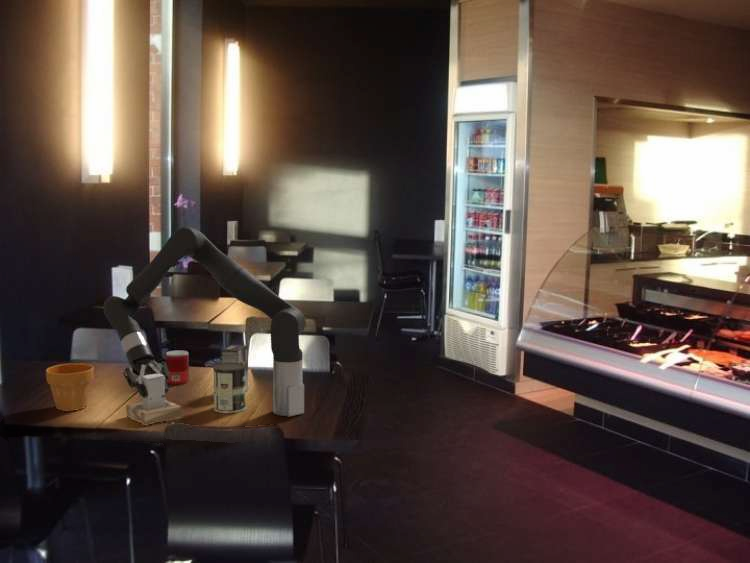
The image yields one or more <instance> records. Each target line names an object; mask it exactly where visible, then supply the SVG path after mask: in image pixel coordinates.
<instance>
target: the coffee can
mask: <svg viewBox="0 0 750 563" xmlns="http://www.w3.org/2000/svg"><path fill="white" fill-rule="evenodd" d="M245 368H246V366H245V365H244V364H240V363H222V362H221V363H219V364H215V365H213V366H212V370H213V411H214V412H216V413H220V414H236V413H242V412H244V411H245V410H246V406H247V405H246V403H247V402H246V399H247V398H246V392H245Z"/></svg>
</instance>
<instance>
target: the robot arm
mask: <svg viewBox="0 0 750 563" xmlns="http://www.w3.org/2000/svg"><path fill="white" fill-rule="evenodd" d="M185 257H189V258H190V259H192V260H194V261H196V262H197V263H199V264H200V265H201V266H203V268H205V269H206V270H207V271H208V272H209V273H210V274H211V276H212V277H213V278H214V279H215V281H216V283H217V284H219V286H221V288H223V290H225V291H226V292H227V294H228V293H229V295H231V296H232V297H234V298H235V299H236V300H238V301H239V302H241V303H243V304H245V305H247V306H250V307H252V308H253V309H257V310H259V311H260V312H261V313H264V314H265V315H266V316H267V317H269V319H270V320H271V322H270V348H271V352H272V355H273V357H272V360H273V364H272V365H273V366H272V371H273V372H272V377H273V378H272V382H273V384H272V386H273V387H272V388H273V389H272V395H273V397H272V401H273V402H272V404H273V407H272V409H273V414H275V415H277V416H281V417H282V416H283V417H284V416H285V417H287V418H288V417H294V416H297V415H302V414H304V413H305V383H303V364H304V363H303V359H304V358H303V354H304V353H303V350H302V349H301V348H300V334H302V333H303V332H304V331H305V328H306V326H307V320H306V316H304V313H303V312H302V311H301V310H299V309H298V308H297V307H296V306H293V305H292V304H291V303H289V302H288V301H286V300H284V298H281V297H280V296H279V295H277V294H276V293H275V292H273V291H272V290H271V289H270V288H269V287H268V286H267V285H265V284H264V283H263V282H261V281H260V280H259V279H258V278H257V277H256V276H254V275H253V274H252V273H251V272H250V271H249V270H248V269H246V268H245V267H243V266H242V265H241V264H240V263H238V262H237V261H235V260H234V259H232V258H231V257H230V256H228V255H227V254H225V253H224V252H222V251H221V250H220V249H218V248H217V247H216V246H215V245H214V244H213V243H212V242H211V241H210V240H209V239H208V237H207V236H205V235H204V233H202V232H201V231H200V230H198V229H197V228H192V227H190V226H189V227H188V226H182V227H179V228H177V229H176V230H175V231H174V232H173V233H172V234H171V235H170V237H169V238H168V239H167V241H166V242H165V244H164V245H163V246H162V247H161V249H160V250H159V252H158V253H157V254H156V255H155V257H154V258H153V259H152V260H150V262H149V263H148V264H147V266H145V267H144V268H143V270H141V272H139V273H138V274H137V275H136V276H135V277H134V278H133V279H132V280H131V281H130V282H129V283H128V284H127V286H126V288H125V291H126V294H127V295H128V296H127V297H126V298H122V297H120V296H116V295H112V296H108V297H107V298H106V299H105V301H104V303H103V314H104V315H105V318H106V320H108V322H109V323H110V325H111V326H112V327H113V329H114V330H115V331H116V333H117V336H118V338H119V340H120V343H121V346H122V350H123V353H124V355H125V357H126V359H127V360H126V361H128V365H129V367H127V366H126V367H125V369H124V370H123V372H122V373H123V377H124V378H125V380H126V382H127V383H128V386H129V387H130V388H136V389H137V391H138V393H139V395H140V396H141V397H142V396H143V398H146V396H147V391H146V389H145V386H144V384H142V382H143V377H144V376H145V375H150V374H162V375H164V376H165V395H167V394H168V392H169V390H170V387H169V384H168V383H167V381H168V379H169V378H170V374H169V371H168V367H167V364H166V361H162V362H161V363H158V362H157V361H155V356H154V355H153V353H152V350H151V348H150V345H149V343H148V340H147V338H146V337H145V336H144V334H143V331H142V330H141V327H140V325H139V323H138V322H137V321H136V320H135V319H134V317H135V316H136V314H137V313H138V311H139V310H140V309H141V307H142V305H143V303H144V301H145V300H146V299H147V298H148V297H149V296H150V295H151V294H152V293H153V292H154V291H155V290H156V288H158V286H159V285H160V284H161V283H162V281H163V279H164V278H165V277H166V275H167V274H168V272H169V271H170V269H171V268H172V267H173V266H174V265H176V264H177V263H178V262H179V261H181V259H183V258H185ZM134 375H136V379H135V377H134Z"/></svg>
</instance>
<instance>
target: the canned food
mask: <svg viewBox="0 0 750 563" xmlns="http://www.w3.org/2000/svg"><path fill="white" fill-rule="evenodd" d="M189 359H190V357H189V352H188V351H187V350H179V349H178V350H170V351H167V352H166V353H165V362H166V364H167V367H168V371H169V374H170V378H169V379H168V381H167V385H171V386H179V385H180V386H182V385H185V384H188V382H189V380H190V369H189V368H190V366H189V363H190V362H189V361H190V360H189Z"/></svg>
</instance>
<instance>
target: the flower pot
mask: <svg viewBox="0 0 750 563" xmlns="http://www.w3.org/2000/svg"><path fill="white" fill-rule="evenodd" d="M94 369H95V368H94V365H91V364H87V363H79V362H78V363H74V362H73V363H61V364H56V365H53V366H50V367H48V368H46V370H45V376H46V383H47V384H49V386H50V390H51V393H52V397H53V400H54V404H55V407H56V410H57V409H61V410H75V409H80V408H83V407H85V406H86V407H87V404H88V398H89V395H90V394H89V392H90V387H91V382H92V381H93V380H94V377H95V375H94V374H95V370H94ZM86 407H85V408H86Z"/></svg>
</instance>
